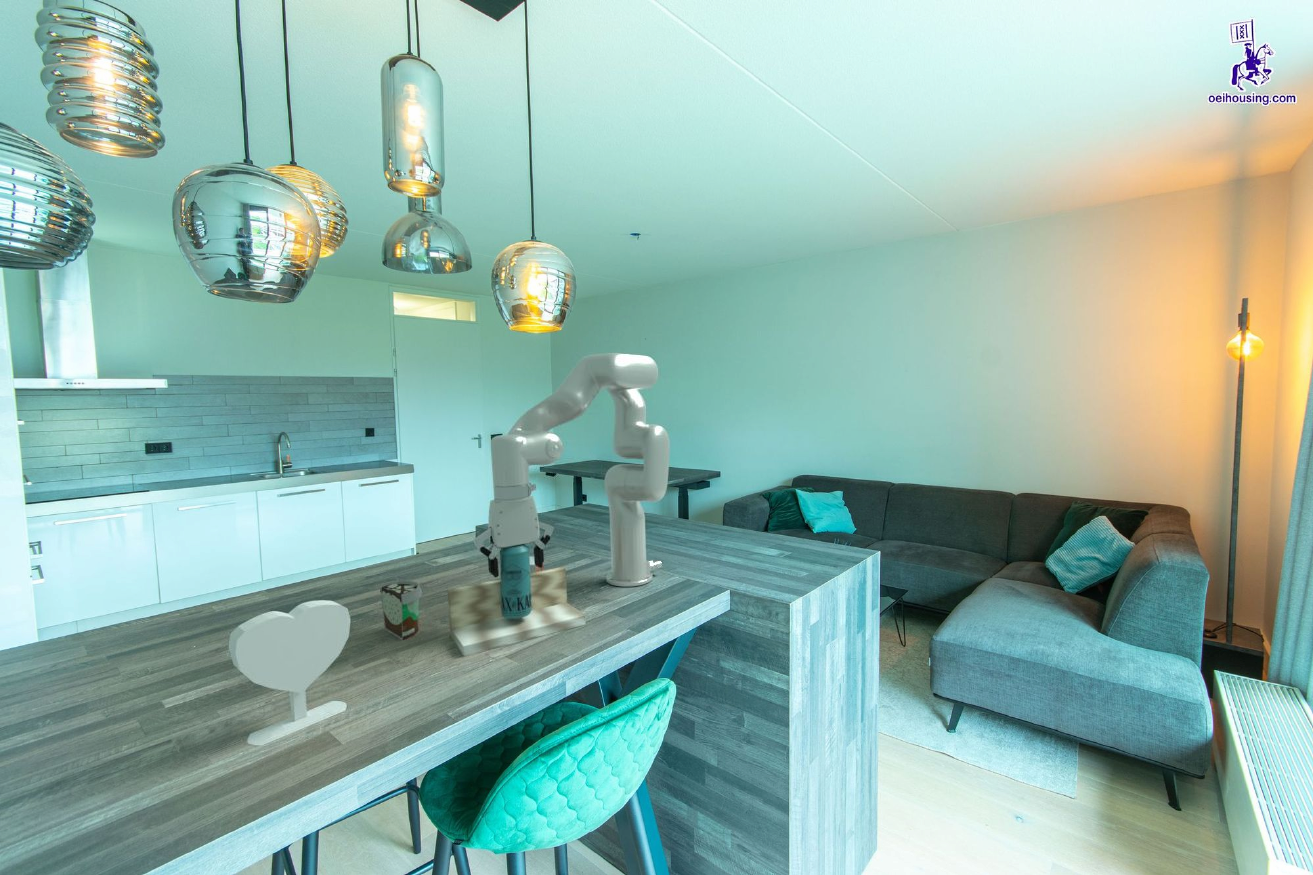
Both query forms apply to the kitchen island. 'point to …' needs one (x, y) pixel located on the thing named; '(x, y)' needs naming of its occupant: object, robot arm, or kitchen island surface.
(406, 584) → the food container
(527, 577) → the beverage bottle
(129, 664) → the kitchen island surface
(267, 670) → the heart sculpture
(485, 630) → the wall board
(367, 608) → the kitchen island surface
